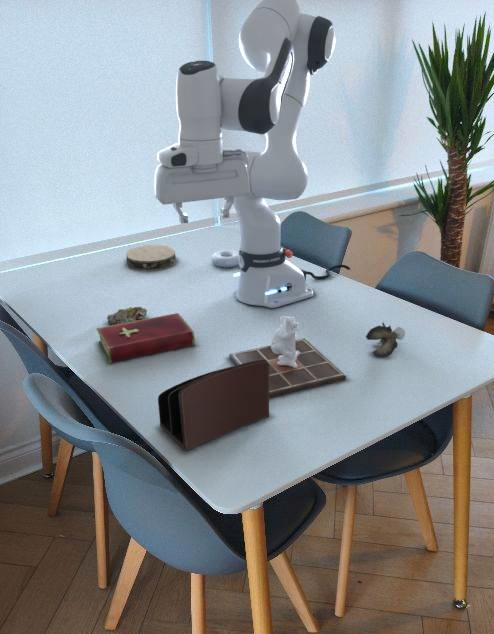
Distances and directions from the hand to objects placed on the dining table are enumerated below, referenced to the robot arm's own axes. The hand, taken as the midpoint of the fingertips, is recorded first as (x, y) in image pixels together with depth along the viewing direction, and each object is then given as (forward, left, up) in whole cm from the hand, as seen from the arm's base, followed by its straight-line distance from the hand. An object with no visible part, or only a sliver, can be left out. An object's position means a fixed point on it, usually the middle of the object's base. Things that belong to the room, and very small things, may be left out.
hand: (204, 220), depth 131 cm
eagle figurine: (-38, +18, -31) cm, 52 cm away
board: (-12, +17, -31) cm, 37 cm away
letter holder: (+10, +31, -31) cm, 45 cm away
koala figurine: (-13, +17, -30) cm, 36 cm away
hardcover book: (+14, -8, -31) cm, 35 cm away
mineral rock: (+15, -24, -31) cm, 42 cm away
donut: (-25, -53, -31) cm, 66 cm away
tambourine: (-3, -65, -31) cm, 72 cm away
